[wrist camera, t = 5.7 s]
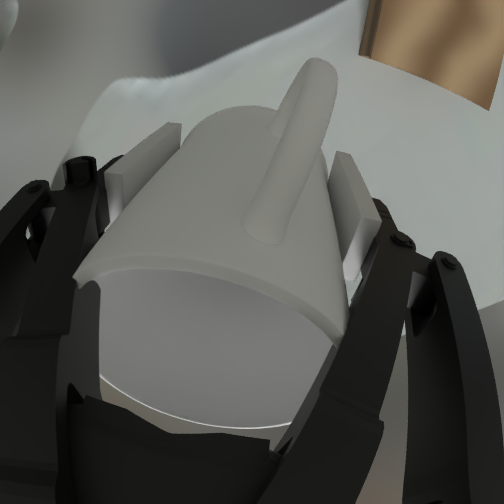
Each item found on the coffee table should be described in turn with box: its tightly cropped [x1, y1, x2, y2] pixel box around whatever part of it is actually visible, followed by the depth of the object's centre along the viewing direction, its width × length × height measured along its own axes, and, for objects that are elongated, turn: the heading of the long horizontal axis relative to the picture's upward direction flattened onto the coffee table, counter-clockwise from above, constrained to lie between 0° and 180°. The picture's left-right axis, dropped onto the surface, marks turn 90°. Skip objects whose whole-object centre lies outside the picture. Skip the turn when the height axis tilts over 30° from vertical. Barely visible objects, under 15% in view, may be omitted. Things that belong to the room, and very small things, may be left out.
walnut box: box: [359, 0, 504, 111], centre depth 18 cm, size 12×12×6 cm
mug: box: [73, 58, 350, 429], centre depth 11 cm, size 12×8×12 cm
